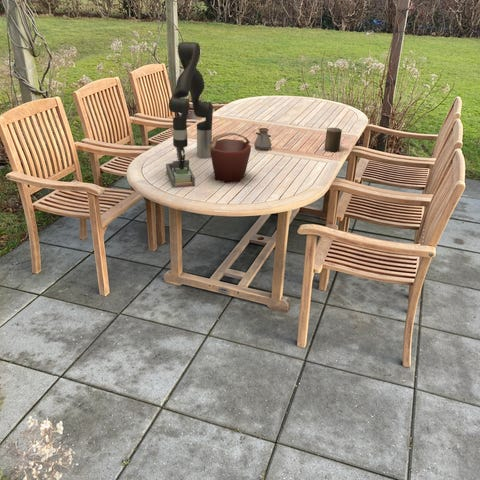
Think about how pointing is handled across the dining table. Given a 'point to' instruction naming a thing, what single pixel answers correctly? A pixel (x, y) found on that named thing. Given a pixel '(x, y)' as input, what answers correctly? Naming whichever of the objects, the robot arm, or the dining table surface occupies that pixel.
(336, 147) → the pillar candle
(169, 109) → the robot arm
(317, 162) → the dining table surface
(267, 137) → the coffee pot
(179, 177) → the box
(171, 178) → the bay
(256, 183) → the dining table surface
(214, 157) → the bucket
